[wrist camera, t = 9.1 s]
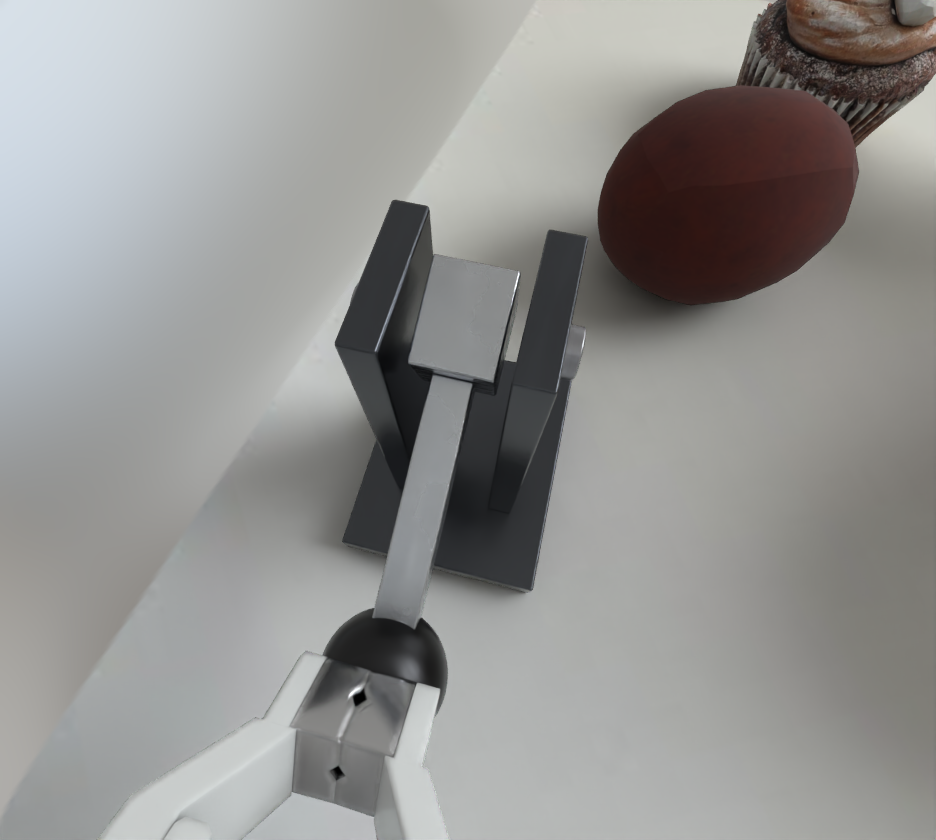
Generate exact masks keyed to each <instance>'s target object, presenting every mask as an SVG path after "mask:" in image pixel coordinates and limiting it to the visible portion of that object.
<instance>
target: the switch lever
mask: <svg viewBox="0 0 936 840" xmlns="http://www.w3.org/2000/svg"><path fill="white" fill-rule="evenodd" d="M520 276H521V274H520V272H519V271H516V270H511V269H506V268H501V267H496V266H492V265H487V264H482V263H477V262H472V261H467V260H462V259H457V258H452V257H447V256H442V255H438V254H434V255H433V258H432V262H431V266H430V270H429V274H428V278H427V282H426V286H425V290H424V294H423V298H422V302H421V306H420V310H419V314H418V318H417V322H416V326H415V330H414V334H413V338H412V342H411V346H410V350H409V354H408V358H407V363H408V364H409V365H410V366H411V368H412V369H413V370H414V371H415V372H416V373H417V374H418V375H419V377H420V378H421V379H422V380H425V381H429V382H430V383H429V388H428V392H427V396H426V400H425V404H424V408H423V412H422V416H421V420H420V424H419V428H418V432H417V437H416V441H415V445H414V449H413V453H412V457H411V461H410V465H409V469H408V473H407V477H406V481H405V485H404V490H403V494H402V498H401V502H400V506H399V510H398V514H397V518H396V522H395V526H394V530H393V534H392V538H391V543H390V547H389V551H388V555H387V559H386V563H385V567H384V571H383V575H382V579H381V583H380V587H379V591H378V596H377V600H376V604H375V608H372V609H368V610H366V611H363V612H361V613H359V614H357V615H355V616H354V617H352V618H351V619H349V620H348V621H347V622H345V623H344V624H343V625H342V626H341V627H340V628H339V629H338V630H337V631H336V633H335V634H334V635H333V636H332V638H331V639H330V641H329V642H328V644H327V646H326V648H325V650H324V652H323V655H322V656H325V657H329V658H332V659H335V660H339V661H342V662H345V663H348V664H351V665H355V666H358V667H361V668H364V669H367V670H371V671H372V670H374V671H378V672H382V673H386V674H389V675H393V676H397V677H401V678H405V679H408V680H412V681H416V682H417V683H421V684H424V685H428V686H432V687H435V688H439V689H440V695H439V699H438V704H437V708H436V713H435V716H436V715H437V713H438V711H439V709H440V707H441V704H442V702H443V699H444V696H445V693H446V687H447V679H448V668H447V660H446V655H445V651H444V648H443V646H442V643H441V641H440V639H439V637H438V635H437V634H436V632H435V631H434V630H433V628H432V627H431V626H430V625H429V624H428V623H427V622H426V621H425V620H424V619H422V618H421V617H422V613H423V609H424V604H425V600H426V596H427V592H428V588H429V583H430V579H431V575H432V571H433V567H434V562H435V558H436V554H437V550H438V545H439V541H440V537H441V533H442V529H443V524H444V520H445V516H446V512H447V508H448V503H449V499H450V495H451V491H452V487H453V482H454V478H455V474H456V470H457V466H458V461H459V457H460V453H461V449H462V445H463V440H464V436H465V432H466V428H467V424H468V419H469V415H470V411H471V407H472V402H473V398H474V394H475V392H478V393H482V394H487V395H491V396H496V394H497V390H498V386H499V382H500V377H501V373H502V369H503V365H504V360H505V356H506V352H507V348H508V343H509V339H510V335H511V330H512V326H513V322H514V318H515V313H516V309H517V305H518V296H519V286H520ZM434 718H435V717H434Z"/></svg>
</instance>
